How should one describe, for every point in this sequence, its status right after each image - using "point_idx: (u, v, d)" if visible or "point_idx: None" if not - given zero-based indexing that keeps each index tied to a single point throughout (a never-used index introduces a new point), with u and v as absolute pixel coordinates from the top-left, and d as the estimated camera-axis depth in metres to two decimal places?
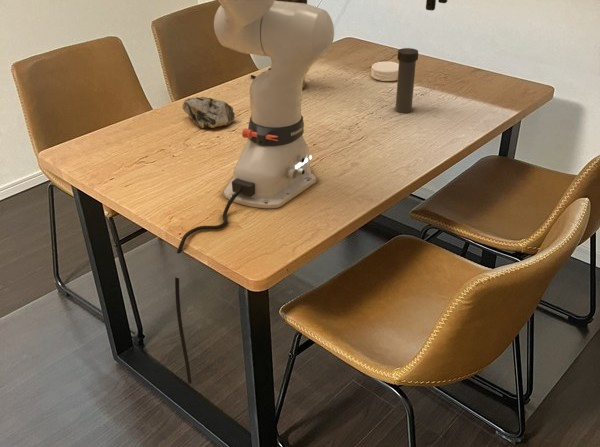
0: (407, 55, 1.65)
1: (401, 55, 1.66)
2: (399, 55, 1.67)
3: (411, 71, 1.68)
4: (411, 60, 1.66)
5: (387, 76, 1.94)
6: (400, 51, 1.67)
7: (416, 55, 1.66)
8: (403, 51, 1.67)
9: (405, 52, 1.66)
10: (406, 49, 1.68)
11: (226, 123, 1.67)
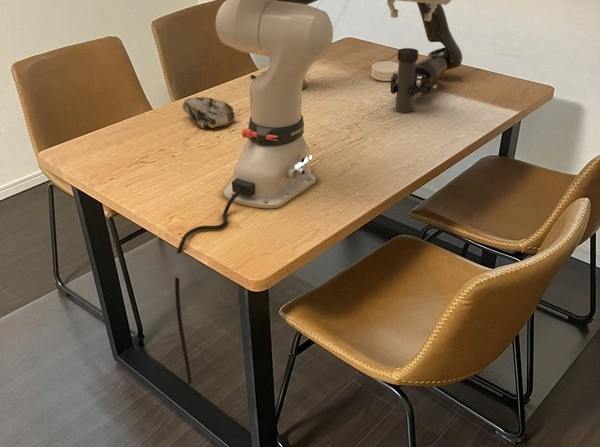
0: (407, 55, 1.65)
1: (401, 55, 1.66)
2: (399, 55, 1.67)
3: (411, 71, 1.68)
4: (411, 60, 1.66)
5: (387, 76, 1.94)
6: (400, 51, 1.67)
7: (416, 55, 1.66)
8: (403, 51, 1.67)
9: (405, 52, 1.66)
10: (406, 49, 1.68)
11: (226, 123, 1.67)
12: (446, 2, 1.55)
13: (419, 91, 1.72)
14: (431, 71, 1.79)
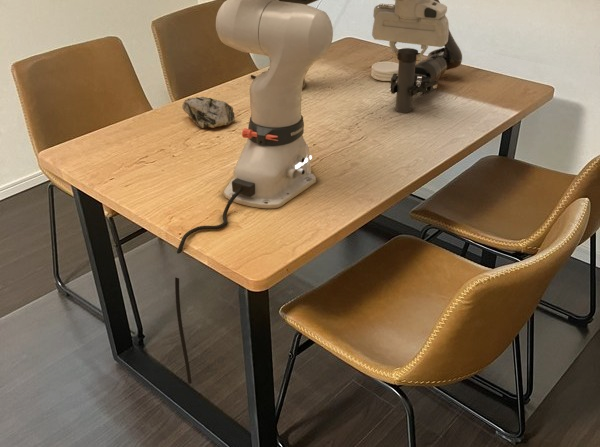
0: (407, 55, 1.65)
1: (401, 55, 1.66)
2: (399, 55, 1.67)
3: (411, 71, 1.68)
4: (411, 60, 1.66)
5: (387, 76, 1.94)
6: (400, 51, 1.67)
7: None
8: (403, 51, 1.67)
9: (405, 52, 1.66)
10: (406, 49, 1.68)
11: (226, 123, 1.67)
12: (442, 45, 1.61)
13: (419, 91, 1.72)
14: (431, 71, 1.79)
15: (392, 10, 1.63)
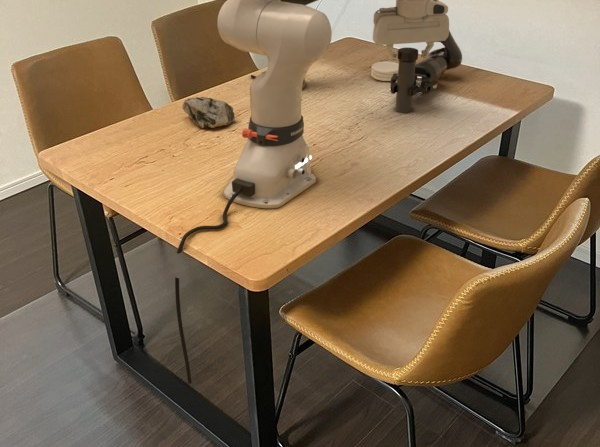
0: (416, 53, 1.66)
1: (411, 55, 1.65)
2: (408, 56, 1.65)
3: (411, 71, 1.68)
4: (417, 57, 1.67)
5: (387, 76, 1.94)
6: (406, 52, 1.65)
7: None
8: (407, 51, 1.66)
9: (411, 52, 1.66)
10: (403, 49, 1.68)
11: (226, 123, 1.67)
12: (445, 38, 1.65)
13: (419, 91, 1.72)
14: (431, 71, 1.79)
15: (394, 13, 1.60)
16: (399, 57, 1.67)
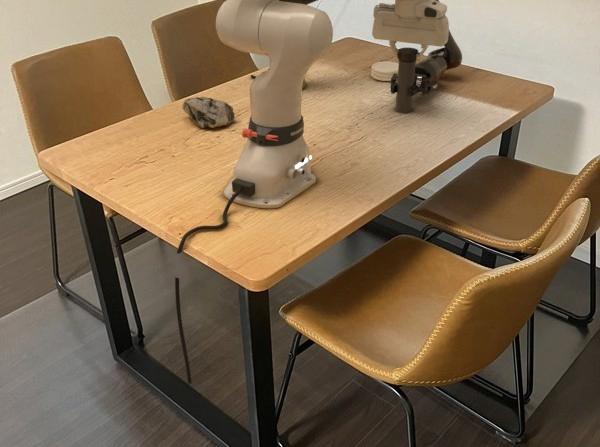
0: (416, 53, 1.66)
1: (411, 55, 1.65)
2: (408, 56, 1.65)
3: (411, 71, 1.68)
4: None
5: (387, 76, 1.94)
6: (406, 52, 1.65)
7: None
8: (407, 51, 1.66)
9: (411, 52, 1.66)
10: (403, 49, 1.68)
11: (226, 123, 1.67)
12: (442, 44, 1.61)
13: (419, 91, 1.72)
14: (431, 71, 1.79)
15: (392, 9, 1.63)
16: (399, 57, 1.67)
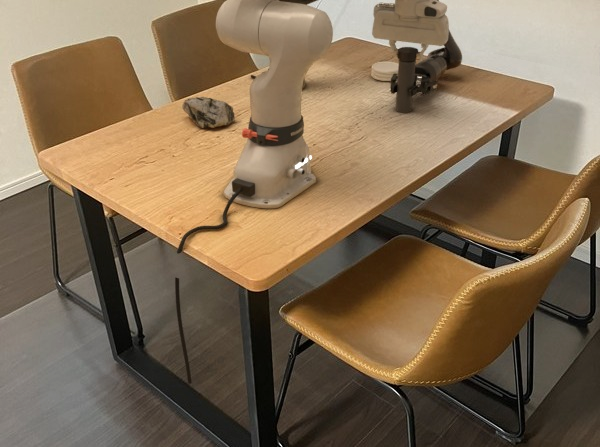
0: None
1: None
2: None
3: (411, 71, 1.68)
4: None
5: (387, 76, 1.94)
6: (413, 51, 1.66)
7: None
8: (412, 50, 1.66)
9: (414, 50, 1.67)
10: (404, 50, 1.66)
11: (226, 123, 1.67)
12: (442, 44, 1.61)
13: (419, 91, 1.72)
14: (431, 71, 1.79)
15: (392, 9, 1.63)
16: (408, 58, 1.66)
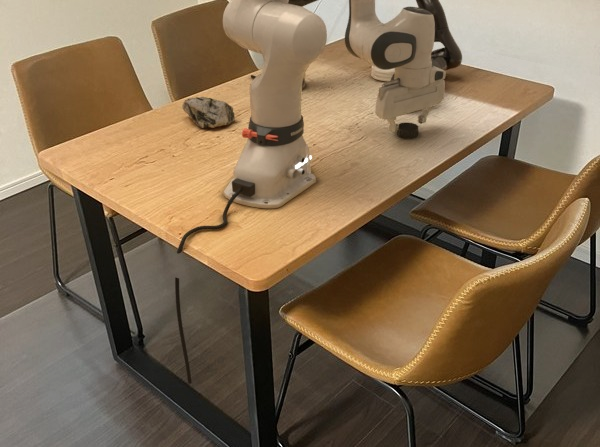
0: None
1: None
2: None
3: None
4: None
5: (387, 76, 1.94)
6: (416, 126, 1.61)
7: None
8: (412, 126, 1.61)
9: (411, 124, 1.62)
10: (409, 128, 1.60)
11: (226, 123, 1.67)
12: (441, 101, 1.61)
13: None
14: None
15: (397, 84, 1.52)
16: (416, 134, 1.60)
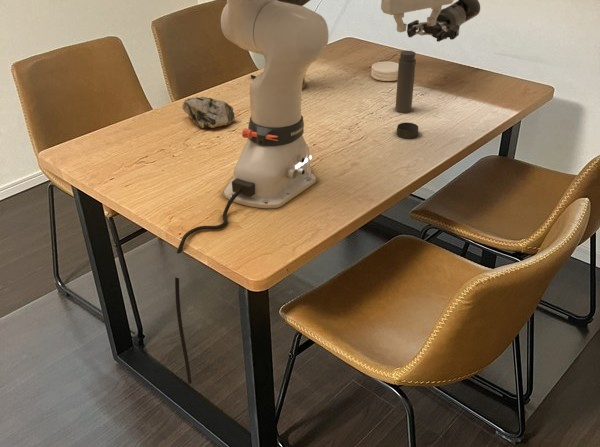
0: None
1: None
2: None
3: (411, 71, 1.68)
4: None
5: (387, 76, 1.94)
6: (416, 126, 1.61)
7: None
8: (412, 126, 1.61)
9: (411, 124, 1.62)
10: (409, 128, 1.60)
11: (226, 123, 1.67)
12: (452, 1, 1.48)
13: (447, 36, 1.74)
14: (451, 18, 1.81)
15: None
16: (416, 134, 1.60)
